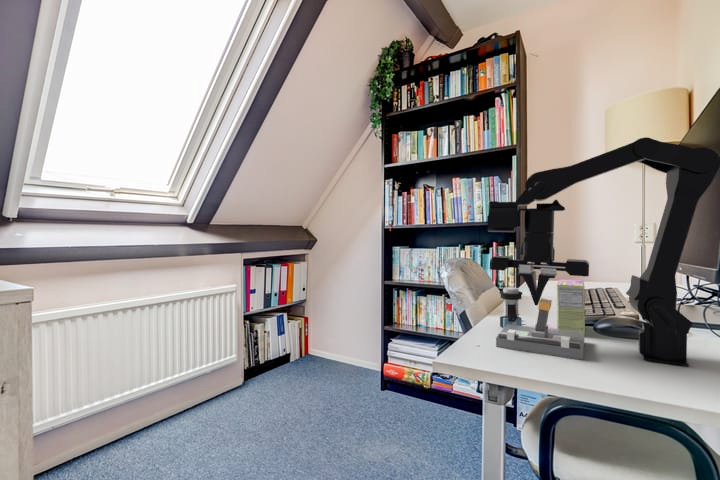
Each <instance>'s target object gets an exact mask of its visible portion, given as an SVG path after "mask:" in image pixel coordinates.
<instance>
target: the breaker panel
mask: <svg viewBox="0 0 720 480" xmlns="http://www.w3.org/2000/svg"><path fill="white" fill-rule="evenodd" d="M536 325H537V323H535V327H534V326H533V327H532V326H526V325H521V326H517V325H509V324H507V325H506V326H505V327H504V328H502V329H501V331H499V333H498V334H497V336H496V337H495V347H496V348H504V349H510V350H515V351H522V352H523V351H524V352H528V353H529V352H530V353H535V354H542V355H549V356H555V357H561V358H569V359H575V360H581V361H583V360H584V353H585V351H584V350H585V336H584V333H576V332H568V331H560V330H557V329H551V328H550V329H549V324H547V325H546V331H545V332H541V331H536Z"/></svg>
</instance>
